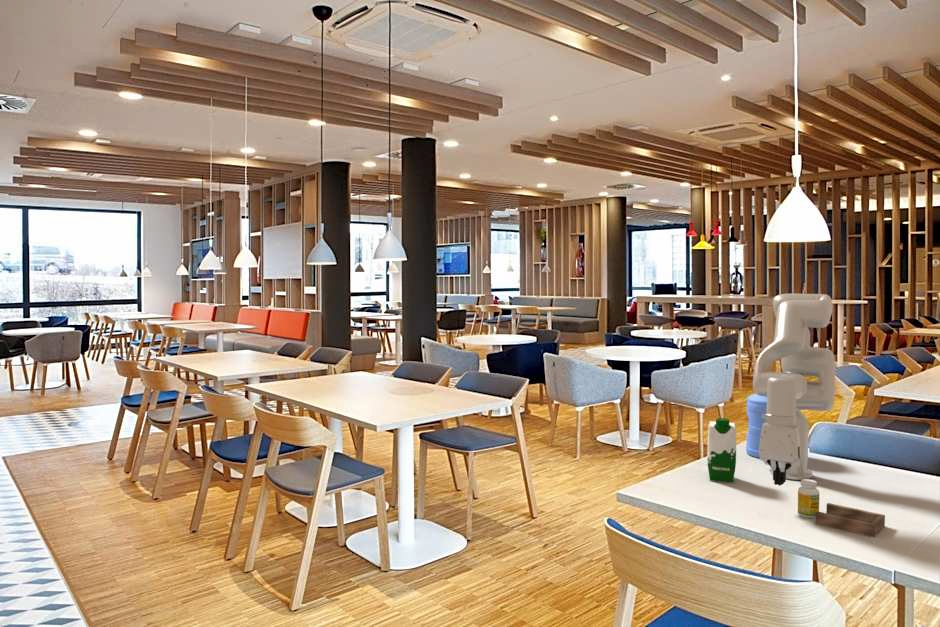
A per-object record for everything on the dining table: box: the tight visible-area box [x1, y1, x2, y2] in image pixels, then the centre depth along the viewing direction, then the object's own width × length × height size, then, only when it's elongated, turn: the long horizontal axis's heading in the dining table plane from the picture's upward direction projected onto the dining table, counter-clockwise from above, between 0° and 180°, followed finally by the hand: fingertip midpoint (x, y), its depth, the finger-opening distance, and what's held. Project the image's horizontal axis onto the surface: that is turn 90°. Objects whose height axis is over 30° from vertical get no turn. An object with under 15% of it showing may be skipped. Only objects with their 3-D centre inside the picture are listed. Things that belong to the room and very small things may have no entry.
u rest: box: [814, 502, 886, 538], centre depth 186 cm, size 14×10×3 cm
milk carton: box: [706, 417, 737, 484], centre depth 226 cm, size 9×9×20 cm
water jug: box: [745, 393, 767, 459], centre depth 255 cm, size 16×16×28 cm
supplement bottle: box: [797, 479, 820, 519], centre depth 193 cm, size 5×5×10 cm
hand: (779, 483), depth 198 cm, fingers closed
